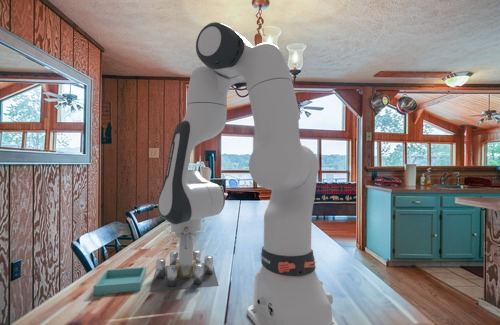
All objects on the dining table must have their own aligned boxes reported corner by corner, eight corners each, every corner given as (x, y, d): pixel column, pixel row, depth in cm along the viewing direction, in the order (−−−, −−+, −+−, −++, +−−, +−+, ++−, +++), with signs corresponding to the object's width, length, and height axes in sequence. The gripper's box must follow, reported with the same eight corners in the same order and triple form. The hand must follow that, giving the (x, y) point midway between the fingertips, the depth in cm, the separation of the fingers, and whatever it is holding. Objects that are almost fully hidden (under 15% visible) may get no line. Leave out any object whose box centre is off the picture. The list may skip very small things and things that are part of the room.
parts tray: (140, 291, 70) (140, 282, 70) (93, 296, 68) (93, 286, 68) (146, 275, 81) (146, 266, 81) (106, 278, 79) (106, 269, 79)
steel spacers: (215, 283, 75) (215, 265, 75) (153, 288, 71) (153, 270, 71) (210, 264, 90) (210, 249, 90) (158, 268, 86) (158, 252, 86)
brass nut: (195, 270, 84) (195, 257, 84) (195, 277, 79) (196, 263, 79) (176, 272, 82) (176, 258, 82) (175, 279, 77) (175, 264, 77)
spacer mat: (218, 287, 74) (218, 285, 74) (149, 293, 70) (149, 292, 70) (212, 263, 91) (212, 262, 91) (156, 267, 87) (156, 266, 87)
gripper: (198, 231, 71) (197, 284, 71) (195, 217, 91) (195, 258, 91) (173, 233, 70) (173, 286, 70) (176, 218, 90) (176, 259, 90)
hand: (185, 270), depth 80 cm, fingers closed on brass nut, 5 cm apart
